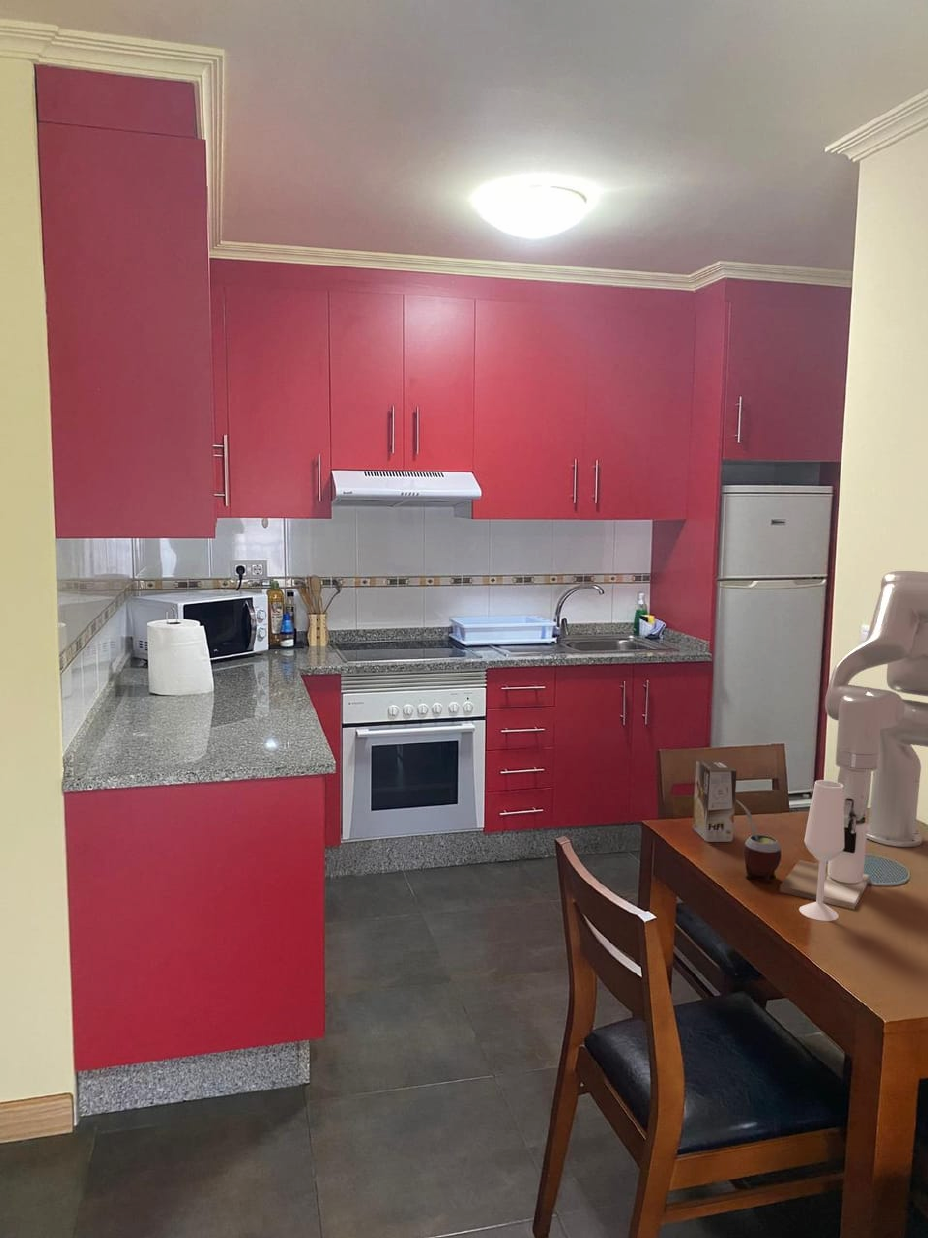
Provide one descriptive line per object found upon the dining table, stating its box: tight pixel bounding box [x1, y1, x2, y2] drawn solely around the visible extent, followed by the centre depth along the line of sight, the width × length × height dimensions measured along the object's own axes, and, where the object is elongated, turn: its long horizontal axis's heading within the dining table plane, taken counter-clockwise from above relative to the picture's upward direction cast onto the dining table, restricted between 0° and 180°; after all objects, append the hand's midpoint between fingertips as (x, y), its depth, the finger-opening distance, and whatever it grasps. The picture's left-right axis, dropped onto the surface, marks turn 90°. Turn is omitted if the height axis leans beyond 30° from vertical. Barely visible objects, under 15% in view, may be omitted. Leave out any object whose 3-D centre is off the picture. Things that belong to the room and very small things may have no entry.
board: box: [779, 859, 870, 910], centre depth 175 cm, size 16×13×1 cm
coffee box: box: [692, 759, 737, 843], centre depth 201 cm, size 9×6×16 cm
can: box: [827, 815, 868, 884], centre depth 176 cm, size 6×6×12 cm
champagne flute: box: [798, 779, 844, 922], centre depth 162 cm, size 7×7×24 cm
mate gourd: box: [735, 799, 782, 886], centre depth 178 cm, size 8×8×15 cm
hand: (850, 843), depth 177 cm, fingers open, 9 cm apart
